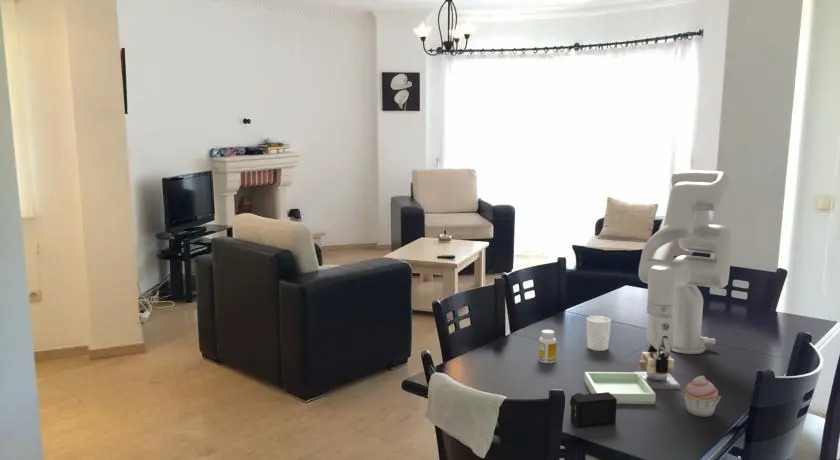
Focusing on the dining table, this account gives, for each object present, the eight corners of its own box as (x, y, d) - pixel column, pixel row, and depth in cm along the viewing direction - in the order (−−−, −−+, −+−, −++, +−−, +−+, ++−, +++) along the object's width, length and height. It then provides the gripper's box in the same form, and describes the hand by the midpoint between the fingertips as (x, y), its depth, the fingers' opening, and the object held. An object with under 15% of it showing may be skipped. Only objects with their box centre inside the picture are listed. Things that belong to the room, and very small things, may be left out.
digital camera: (605, 415, 171) (606, 389, 170) (615, 424, 166) (617, 398, 165) (568, 419, 169) (569, 393, 168) (577, 428, 164) (578, 401, 163)
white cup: (610, 352, 218) (611, 323, 217) (586, 350, 220) (587, 321, 218) (608, 344, 226) (610, 316, 224) (585, 343, 227) (586, 315, 226)
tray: (637, 381, 193) (638, 372, 193) (655, 403, 178) (655, 394, 177) (584, 381, 194) (584, 371, 193) (596, 403, 178) (597, 393, 178)
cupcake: (727, 418, 169) (730, 381, 168) (695, 421, 167) (697, 384, 166) (704, 403, 178) (707, 367, 177) (673, 406, 176) (676, 370, 175)
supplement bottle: (556, 358, 212) (557, 329, 211) (554, 364, 207) (555, 334, 206) (540, 356, 214) (540, 328, 212) (537, 362, 209) (538, 333, 207)
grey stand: (667, 375, 198) (669, 347, 196) (679, 389, 188) (681, 359, 186) (634, 375, 198) (635, 347, 196) (644, 388, 188) (645, 359, 187)
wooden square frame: (665, 364, 196) (665, 351, 195) (673, 373, 189) (674, 360, 188) (635, 364, 196) (636, 351, 195) (642, 373, 189) (643, 360, 188)
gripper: (684, 317, 181) (680, 379, 183) (663, 300, 198) (660, 357, 201) (657, 317, 181) (653, 378, 184) (638, 300, 198) (635, 357, 201)
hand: (657, 367), depth 192 cm, fingers closed on wooden square frame, 7 cm apart
